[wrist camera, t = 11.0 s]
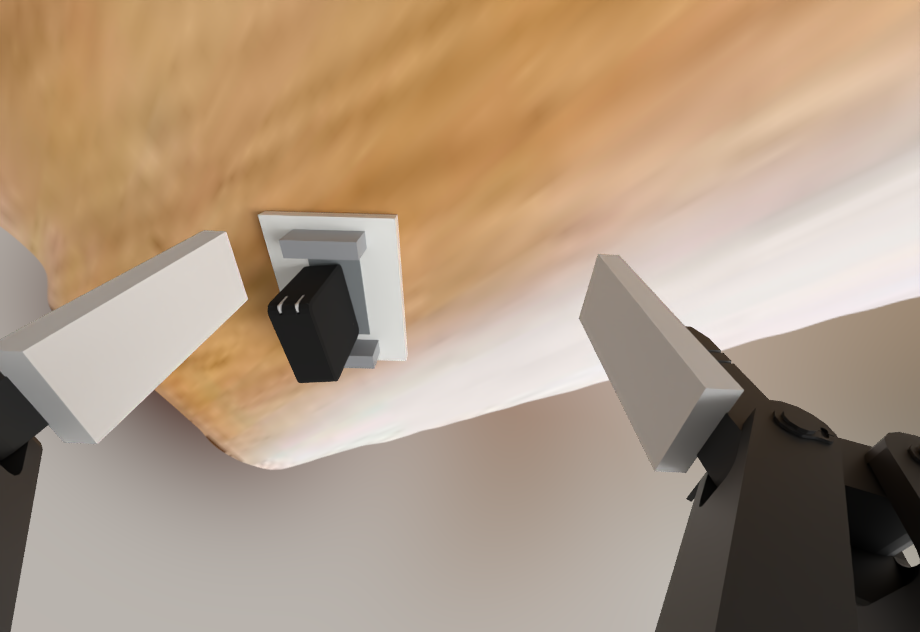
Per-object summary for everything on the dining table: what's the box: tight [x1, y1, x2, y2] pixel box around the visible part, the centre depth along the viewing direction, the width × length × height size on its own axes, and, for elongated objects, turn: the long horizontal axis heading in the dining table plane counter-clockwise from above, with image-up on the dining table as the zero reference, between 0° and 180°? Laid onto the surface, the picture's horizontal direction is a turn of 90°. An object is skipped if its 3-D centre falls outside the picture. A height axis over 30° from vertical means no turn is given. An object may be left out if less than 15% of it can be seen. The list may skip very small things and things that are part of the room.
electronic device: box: [268, 264, 359, 383], centre depth 39 cm, size 4×10×10 cm, turn 4°
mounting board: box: [258, 211, 408, 369], centre depth 42 cm, size 20×15×5 cm
